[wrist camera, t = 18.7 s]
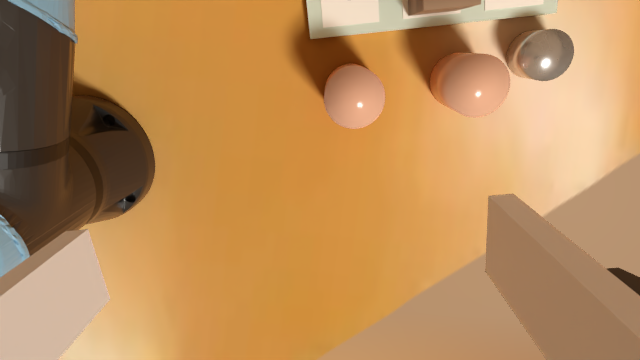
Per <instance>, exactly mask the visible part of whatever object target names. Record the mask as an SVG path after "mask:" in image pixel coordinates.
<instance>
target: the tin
mask: <svg viewBox="0 0 640 360" xmlns="http://www.w3.org/2000/svg"><path fill="white" fill-rule="evenodd" d="M573 55H574V46H573V42H572V40H571V38H570V37H569V36H568V35H567V34H566V33H565V32H563V31H561V30H557V29H548V30H533V31H527V32H524V33H522V34H520V35H519V36H518V37H516V38H515V39H514V40H513V42H512V43H511V45H510V46H509V49H508V52H507V64H508V67H509V69H510V70H511V72H512V73H513V74H515V75H516V76H519V77H522V78H528V79H534V80H539V81H548V80H552V79H555V78H557V77H559V76H560V75H561V74H563V73H564V72H565V71H566V70H567V68H568V67H569V65H570V64H571V61H572V59H573Z"/></svg>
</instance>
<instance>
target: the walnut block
mask: <svg viewBox="0 0 640 360" xmlns="http://www.w3.org/2000/svg"><path fill="white" fill-rule="evenodd" d="M480 4H481V0H408V16H412V15H422V14H431V13H440V12H449V11H457V10H461V9H465V8H469V7H473V6H476V5H480Z"/></svg>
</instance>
